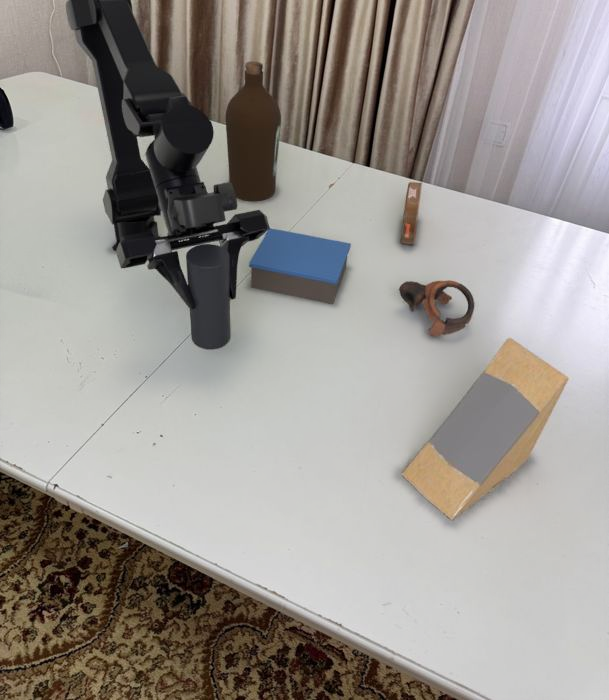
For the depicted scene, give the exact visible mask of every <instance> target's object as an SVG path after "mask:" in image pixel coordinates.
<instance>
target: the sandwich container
mask: <svg viewBox="0 0 609 700" xmlns="http://www.w3.org/2000/svg"><path fill="white" fill-rule="evenodd" d="M568 381H569V376H567V375H566V374H565V373H563V372H561V371H560V370H558V369H557V368H555V367H554V366H552V365H551V364H550V363H548V362H547V361H545V359H543V358H541V357H540V356H538V355H537V354H535V353H533V352H532V351H531V350H530V349H528V348H527V347H525V346H524V345H522V344H520V343H519V342H518V341H516V340H514V339H513V338H511V337H508V338H507V339H506V340H505V341H504V342H503V344H502V345H501V346H500V348H499V350H498V351H497V352H496V354H495V355H494V356H493V358H492V359H491V360H490V362H489V363H488V364H487V366H486V367H485V368H484V370H483V371H482V373H481V374H480V375H479V376H478V378H477V379H476V380H475V382H473V384H472V386H471V387H470V388H469V389H468V390H467V392H466V393H465V394H464V396H463V397H462V398H461V399H460V401H459V402H458V403H457V405H455V407H454V408H453V409H452V411H451V412H450V413H449V415H448V416H447V417H446V418H445V420H444V421H443V422H442V423H441V424H440V426H439V427H438V429H436V431H435V432H434V434H433V435H432V436H431V437H430V438H429V440H428V441H427V443H425V445H424V446H423V448H421V450H420V451H419V452H418V453H417V455H416V456H415V457H414V459H412V461H411V462H410V464H408V466H407V467H406V468H405V469H404V471H403V472H402V473H401V476H402V477H403V478H405V480H406V481H407V482H408V483H410V484H411V485H412V487H414V488H415V490H417V491H418V492H419V494H421V495H422V496H423V497H424V498H425V499H426V500H427V501H428V502H430V503H431V504H432V505H433V506H434V507H436V508H437V509H438V510H439V511H440V512H441V513H443V514H444V515H445V516H446V517H448V518H449V519H450V520H451V521H453V520H454V519H455V518H457V517H458V516H459V515H461V514H462V513H463V512H465V511H467V509H469V508H470V507H471V506H473V505H474V504H475V503H477V502H478V501H479V500H481V499H482V498H484V497H486V495H488V494H489V493H490V492H491V491H492V490H494V489H495V488H496V487H497V486H498V485H500V484H501V483H502V482H503V481H504V480H505V479H508V478H509V477H510V476H511V475H512V474H514V473H515V472H516V471H517V469H519V468H520V467H521V466H522V465H523V464H524V463H526V461H527V460H528V459H529V458H530V456H531V454H532V451H533V450H534V448H535V446H536V444H537V442H538V440H539V438H540V437H541V434H542V433H543V431H544V429H545V426H546V424H547V423H548V420H549V419H550V417H551V416H552V412H553V411H554V409H555V407H556V405H557V403H558V401H559V400H560V397H561V395H562V393H563V392H564V390H565V387H566V385H567V383H568Z"/></svg>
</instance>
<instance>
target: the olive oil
mask: <svg viewBox="0 0 609 700" xmlns="http://www.w3.org/2000/svg"><path fill="white" fill-rule="evenodd" d="M244 66H245V67H244V68H245V70H244V84H243V85H242V86H241V88H240V89H238V91H237V92H236V93H235V94H234V95H233V96H232V97H231V98H230V100H229V102H228V103H227V107H226V110H225V115H224V116H225V119H224V120H225V132H226V144H227V145H226V146H227V147H226V148H227V162H228V183H232V186H233V189H234V192H235V195H236V199H240V200H243V201H249V202H259V201H260V202H261V201H264V200H265V201H266V200H267V199H270V198H271V197H272V196H274V194H275V192H276V183H277V171H278V159H279V158H278V157H279V149H280V148H279V146H280V139H281V137H280V136H281V127H282V115H281V110H280V106H279V104H278V102H277V100H276V99H275V98H274V97H273V95H271V93H270V92H269V91H268V90H267V89H266V88H265V86H264V71H263V68H264V65H263V63H262V62H259V61H254V60H253V61H246V62H245V65H244Z"/></svg>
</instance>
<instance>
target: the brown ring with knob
mask: <svg viewBox="0 0 609 700" xmlns="http://www.w3.org/2000/svg"><path fill="white" fill-rule="evenodd" d="M447 288H454V289H456V290H458V291H459V292H461V293H462V294H463V296H464V297H465V299H466V301H467V310H466V312H465V314H464V315H463V316H460V317H458V318H451V317H446V318H445V321H444V320H442V319H441V318H440V317H441V314H442V313H441V312H440V310H439V309H438V308H437V306H436V302H439V303H441V304H443V305H444V306H447V305H448V303H449V302H450V301H451V300H452V299H453V297H452V296H451V295H450V294H448V293H446V292H445V289H447ZM398 291H399V295H400V298H401V299H402V300H403V301H404V302H405V303H406V304H407V305H408V307H409V310H410V312H414V311H415V308H416V307H419V306H420V305H421V304H423V307H424V310H425V312H426V314H427V317H428V318H429V320H430V321H431V322H432V326H431V327H430V328H428V330H427V332H428V333H427V334H429V335H431V336H433V337H435V338H437V337H441V335H445V336H446V335H450V334H453V333H456V332H459V331H461V330H463V329H464V328H466V325H468V324H469V323H470V322H471V319H472V317H473V314H474V311H475V300H474V297H473V294H472V292H471V291H470V290H469V289H468V288H467V287H466V286H465V285H463V284H462V283H460V282H457V281H456V280H435V281H432V282H430V283H427V284H422V283H420V282H418V281H411V280H410V281H404V282H403V283H402V284H400V286H399V288H398Z"/></svg>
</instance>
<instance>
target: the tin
mask: <svg viewBox="0 0 609 700" xmlns="http://www.w3.org/2000/svg"><path fill="white" fill-rule="evenodd" d="M422 186H423V182H414V181H410V182H408V183H407V188H406V194H405V202H404V209H403V217H402V218H403V219H402V230H401V235H400V243H401V244H406V245H407V244H408V245H413V246H414V245H415V242H416V233H417V227H418V217H419V209H420V203H421V195H422Z"/></svg>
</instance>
